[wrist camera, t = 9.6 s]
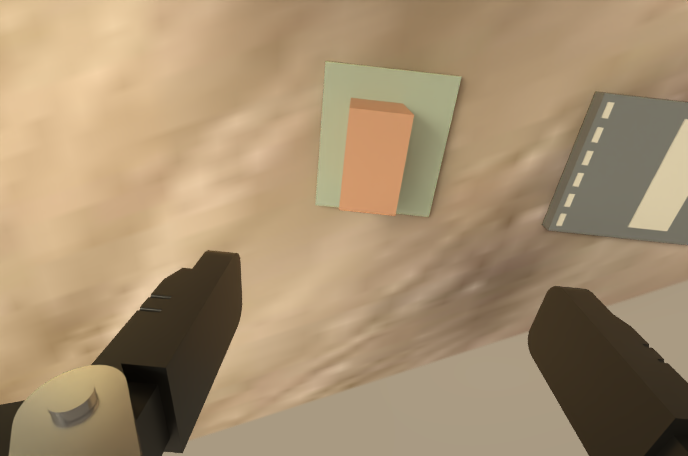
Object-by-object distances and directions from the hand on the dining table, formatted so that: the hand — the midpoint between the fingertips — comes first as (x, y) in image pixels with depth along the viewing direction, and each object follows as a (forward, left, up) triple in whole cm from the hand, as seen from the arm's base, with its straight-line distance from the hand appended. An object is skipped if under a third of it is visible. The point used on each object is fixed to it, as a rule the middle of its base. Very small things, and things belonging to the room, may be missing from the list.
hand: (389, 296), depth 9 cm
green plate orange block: (0, +1, -18) cm, 18 cm away
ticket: (0, +21, -18) cm, 27 cm away
